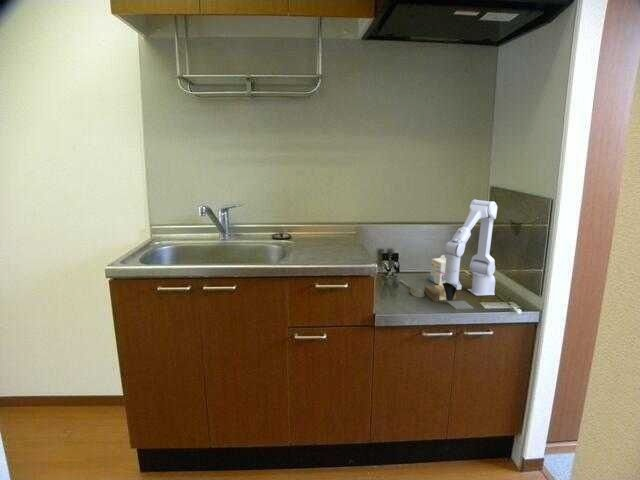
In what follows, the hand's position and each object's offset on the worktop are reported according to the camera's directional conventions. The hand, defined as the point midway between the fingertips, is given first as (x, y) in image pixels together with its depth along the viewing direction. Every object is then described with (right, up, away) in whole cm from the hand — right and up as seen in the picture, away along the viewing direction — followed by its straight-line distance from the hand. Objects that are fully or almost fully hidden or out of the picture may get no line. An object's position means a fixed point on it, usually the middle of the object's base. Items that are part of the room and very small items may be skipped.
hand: (449, 299), depth 170 cm
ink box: (+6, +4, +30) cm, 31 cm away
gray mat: (+4, -2, -1) cm, 5 cm away
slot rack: (-1, 0, +10) cm, 10 cm away
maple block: (-1, 0, +8) cm, 8 cm away
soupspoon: (-13, +2, +19) cm, 23 cm away
